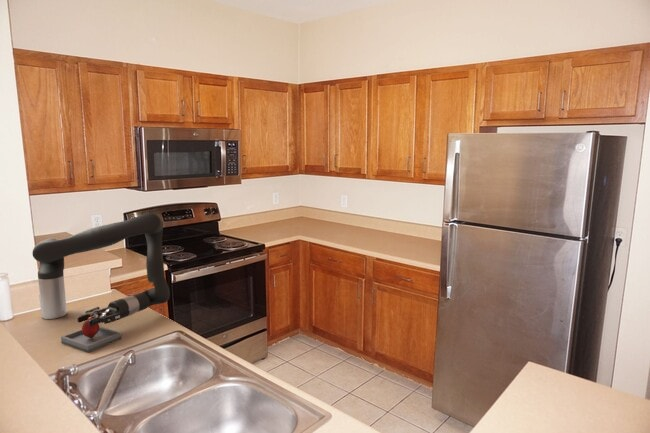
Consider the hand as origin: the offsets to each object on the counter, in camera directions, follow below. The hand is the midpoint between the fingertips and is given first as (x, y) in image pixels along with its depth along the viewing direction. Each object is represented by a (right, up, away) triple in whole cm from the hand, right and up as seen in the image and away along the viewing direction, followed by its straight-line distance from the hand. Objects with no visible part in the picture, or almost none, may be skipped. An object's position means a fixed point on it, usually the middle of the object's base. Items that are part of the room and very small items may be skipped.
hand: (83, 321), depth 159 cm
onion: (+1, -7, +3) cm, 8 cm away
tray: (+1, -8, +3) cm, 9 cm away
